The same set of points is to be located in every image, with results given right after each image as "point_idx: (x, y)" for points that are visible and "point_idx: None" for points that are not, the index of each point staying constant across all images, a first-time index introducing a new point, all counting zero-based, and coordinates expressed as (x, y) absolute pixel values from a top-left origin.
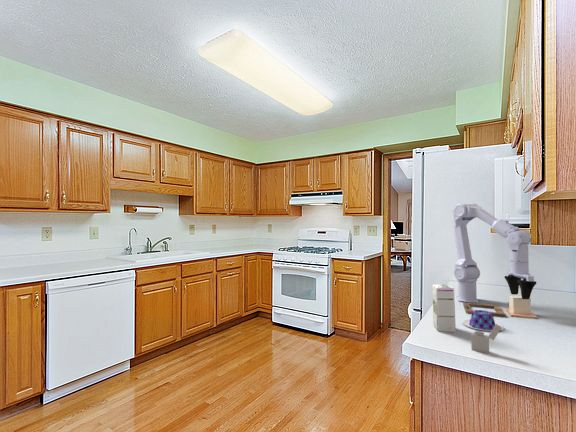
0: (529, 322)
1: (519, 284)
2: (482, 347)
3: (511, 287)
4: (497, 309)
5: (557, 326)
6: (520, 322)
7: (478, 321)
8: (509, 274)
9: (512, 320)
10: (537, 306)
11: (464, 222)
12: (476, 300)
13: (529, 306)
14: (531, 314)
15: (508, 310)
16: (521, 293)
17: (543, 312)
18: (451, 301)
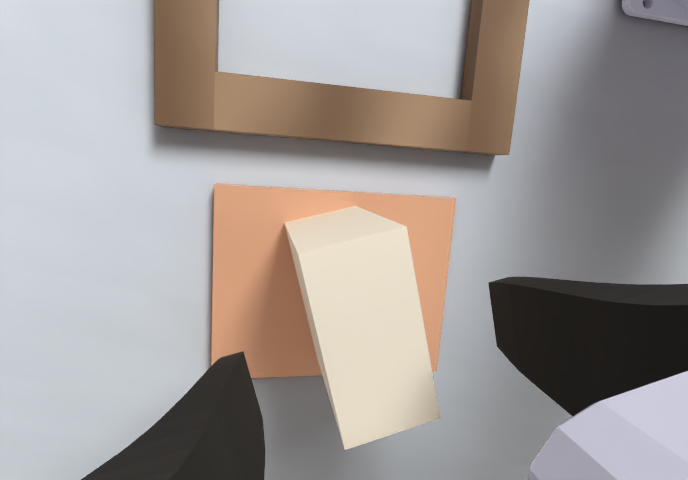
0: (57, 288)
1: (145, 472)
2: None
3: (560, 310)
4: (347, 99)
5: (24, 465)
6: (16, 212)
7: None
8: (560, 427)
9: (63, 158)
10: None
11: None
12: (683, 7)
13: (324, 380)
14: (296, 356)
15: (378, 203)
16: (215, 379)
17: (443, 451)
18: None
